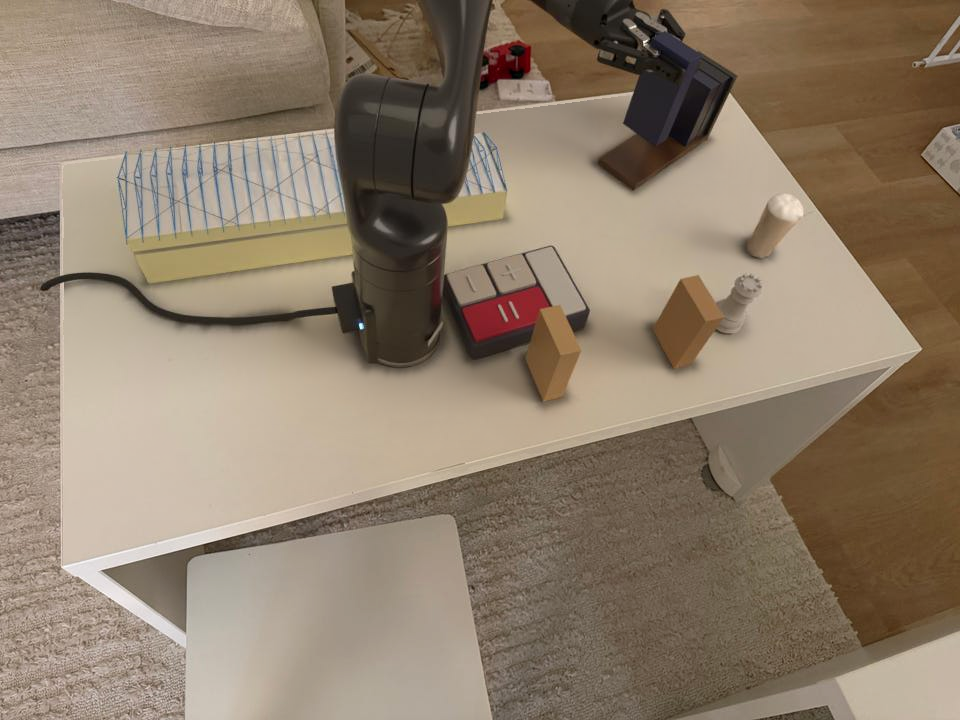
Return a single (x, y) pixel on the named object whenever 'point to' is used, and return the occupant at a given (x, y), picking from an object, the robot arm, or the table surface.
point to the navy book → (660, 92)
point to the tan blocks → (676, 329)
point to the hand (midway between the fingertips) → (689, 72)
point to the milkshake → (774, 224)
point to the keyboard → (261, 204)
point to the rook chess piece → (738, 303)
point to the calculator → (511, 299)
